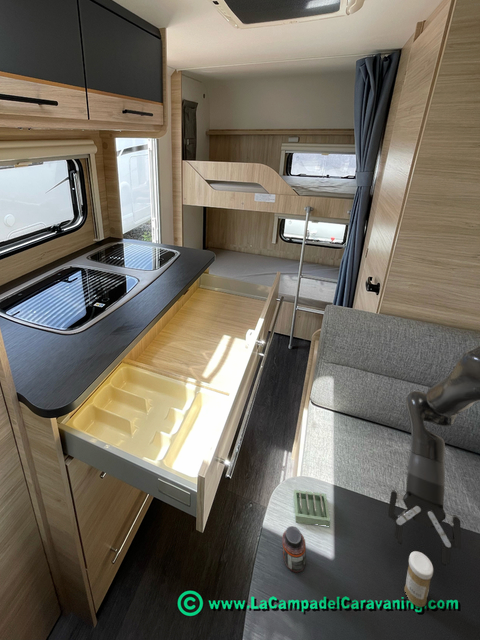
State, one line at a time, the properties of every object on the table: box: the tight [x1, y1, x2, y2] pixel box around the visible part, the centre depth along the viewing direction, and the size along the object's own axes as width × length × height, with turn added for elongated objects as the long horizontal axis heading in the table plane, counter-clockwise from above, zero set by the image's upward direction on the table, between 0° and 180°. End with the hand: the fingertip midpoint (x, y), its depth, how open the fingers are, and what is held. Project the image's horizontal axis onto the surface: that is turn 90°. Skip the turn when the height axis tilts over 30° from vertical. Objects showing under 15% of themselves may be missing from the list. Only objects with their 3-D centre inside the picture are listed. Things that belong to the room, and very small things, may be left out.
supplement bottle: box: [281, 525, 307, 573], centre depth 86 cm, size 6×6×11 cm
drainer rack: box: [299, 489, 324, 517], centre depth 98 cm, size 6×5×4 cm
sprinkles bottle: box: [404, 550, 434, 608], centre depth 77 cm, size 5×5×14 cm
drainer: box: [293, 489, 331, 528], centre depth 98 cm, size 10×8×3 cm
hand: (420, 553), depth 76 cm, fingers open, 8 cm apart
